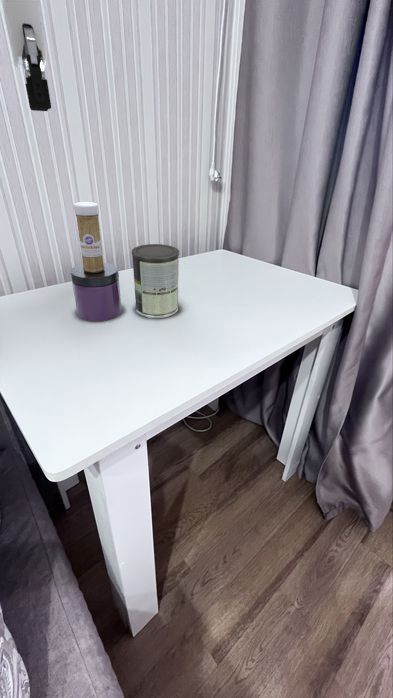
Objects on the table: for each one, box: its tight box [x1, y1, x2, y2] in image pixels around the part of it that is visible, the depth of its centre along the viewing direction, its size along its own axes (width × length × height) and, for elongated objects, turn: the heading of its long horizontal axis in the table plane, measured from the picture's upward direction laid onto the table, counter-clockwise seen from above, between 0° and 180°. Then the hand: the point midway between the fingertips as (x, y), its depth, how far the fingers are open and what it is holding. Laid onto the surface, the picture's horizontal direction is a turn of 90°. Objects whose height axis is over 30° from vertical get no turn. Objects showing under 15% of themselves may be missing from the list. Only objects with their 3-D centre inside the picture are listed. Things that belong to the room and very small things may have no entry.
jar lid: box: [69, 262, 120, 287], centre depth 72 cm, size 10×10×2 cm
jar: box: [71, 277, 123, 322], centre depth 75 cm, size 10×10×10 cm
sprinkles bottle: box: [73, 201, 105, 273], centre depth 68 cm, size 5×5×13 cm
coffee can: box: [131, 243, 180, 319], centre depth 76 cm, size 10×10×14 cm
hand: (40, 109), depth 60 cm, fingers open, 9 cm apart
